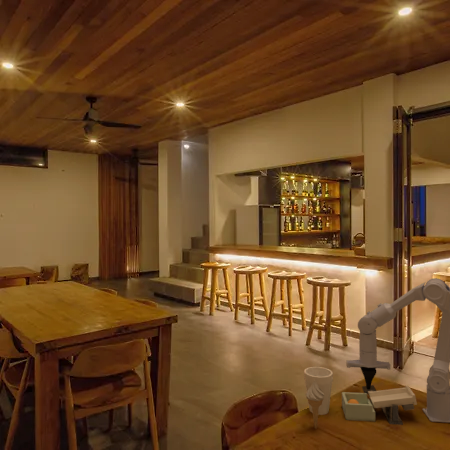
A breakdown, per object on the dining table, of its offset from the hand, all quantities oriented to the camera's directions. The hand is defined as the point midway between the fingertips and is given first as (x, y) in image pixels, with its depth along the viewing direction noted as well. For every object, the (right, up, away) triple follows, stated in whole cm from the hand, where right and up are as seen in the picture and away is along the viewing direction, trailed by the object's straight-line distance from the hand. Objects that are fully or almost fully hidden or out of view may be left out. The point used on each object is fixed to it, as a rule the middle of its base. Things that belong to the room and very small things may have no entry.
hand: (368, 388), depth 138 cm
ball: (-8, -2, -9) cm, 12 cm away
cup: (-7, -5, -9) cm, 12 cm away
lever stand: (+4, -5, -10) cm, 12 cm away
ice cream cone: (-23, -5, -18) cm, 29 cm away
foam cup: (-19, -5, -6) cm, 20 cm away
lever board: (+5, -2, -6) cm, 8 cm away
